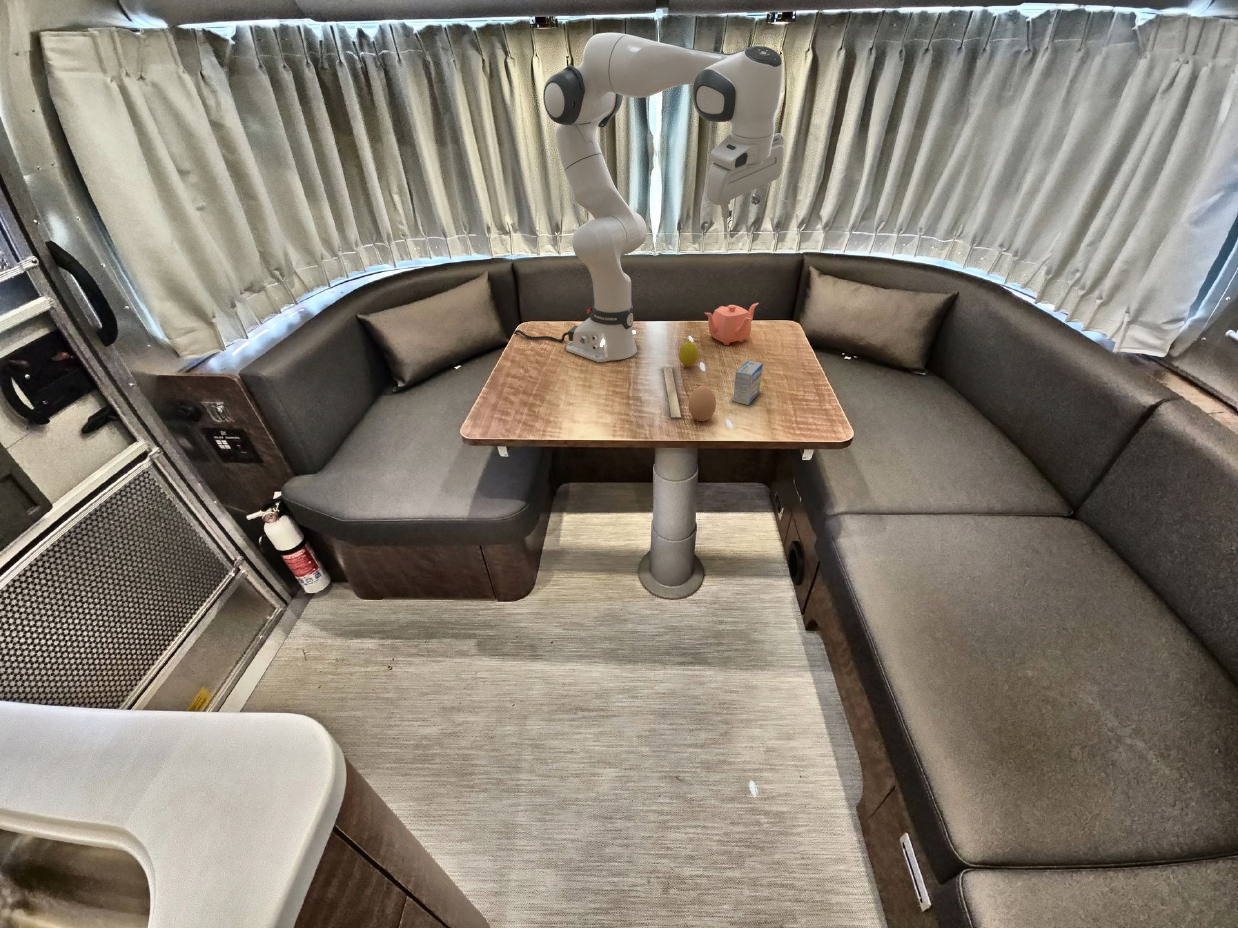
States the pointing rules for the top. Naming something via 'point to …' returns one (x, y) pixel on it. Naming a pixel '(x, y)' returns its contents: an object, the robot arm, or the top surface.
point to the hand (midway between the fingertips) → (741, 210)
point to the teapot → (730, 323)
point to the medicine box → (747, 382)
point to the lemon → (688, 353)
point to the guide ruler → (671, 393)
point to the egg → (702, 403)
